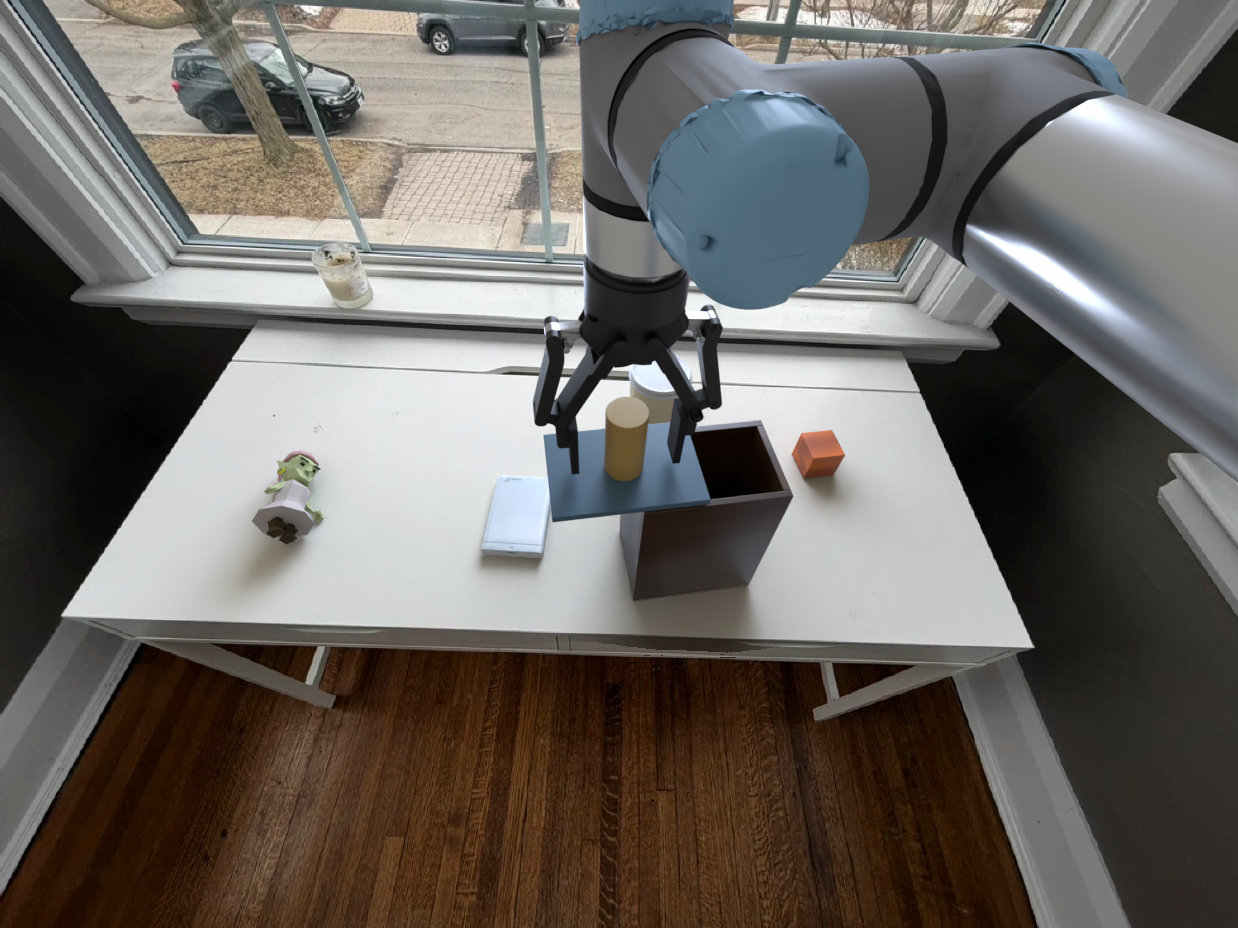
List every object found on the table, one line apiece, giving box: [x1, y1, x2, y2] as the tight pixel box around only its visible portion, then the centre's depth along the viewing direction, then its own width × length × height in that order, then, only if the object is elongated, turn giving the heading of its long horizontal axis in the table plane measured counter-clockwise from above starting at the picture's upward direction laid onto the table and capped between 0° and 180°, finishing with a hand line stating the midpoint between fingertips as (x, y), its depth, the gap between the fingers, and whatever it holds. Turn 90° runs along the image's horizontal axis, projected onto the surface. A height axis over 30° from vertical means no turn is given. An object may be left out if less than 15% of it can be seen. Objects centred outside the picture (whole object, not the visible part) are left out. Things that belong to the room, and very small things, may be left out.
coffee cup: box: [628, 354, 693, 424], centre depth 84 cm, size 9×9×12 cm
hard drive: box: [480, 474, 551, 559], centre depth 77 cm, size 2×8×12 cm
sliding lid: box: [543, 396, 711, 523], centre depth 53 cm, size 11×16×9 cm
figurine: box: [251, 449, 325, 545], centre depth 75 cm, size 9×7×15 cm
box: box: [619, 419, 794, 602], centre depth 66 cm, size 11×16×21 cm
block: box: [791, 429, 846, 480], centre depth 83 cm, size 5×5×5 cm
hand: (624, 458), depth 55 cm, fingers open, 9 cm apart
